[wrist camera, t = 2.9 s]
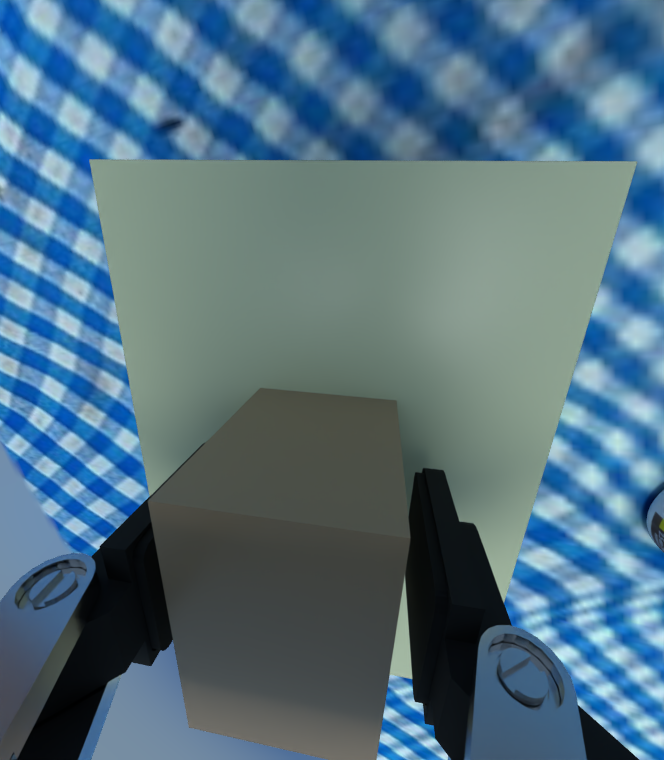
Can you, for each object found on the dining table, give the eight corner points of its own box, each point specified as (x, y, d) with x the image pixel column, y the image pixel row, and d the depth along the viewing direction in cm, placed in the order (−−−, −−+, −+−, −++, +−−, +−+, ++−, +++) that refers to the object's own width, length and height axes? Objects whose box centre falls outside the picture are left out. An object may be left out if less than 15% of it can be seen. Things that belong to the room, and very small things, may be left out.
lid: (153, 182, 11) (-285, 26, 4) (572, 187, 9) (1196, -65, 2) (203, 580, 17) (72, 812, 10) (462, 625, 15) (531, 939, 8)
